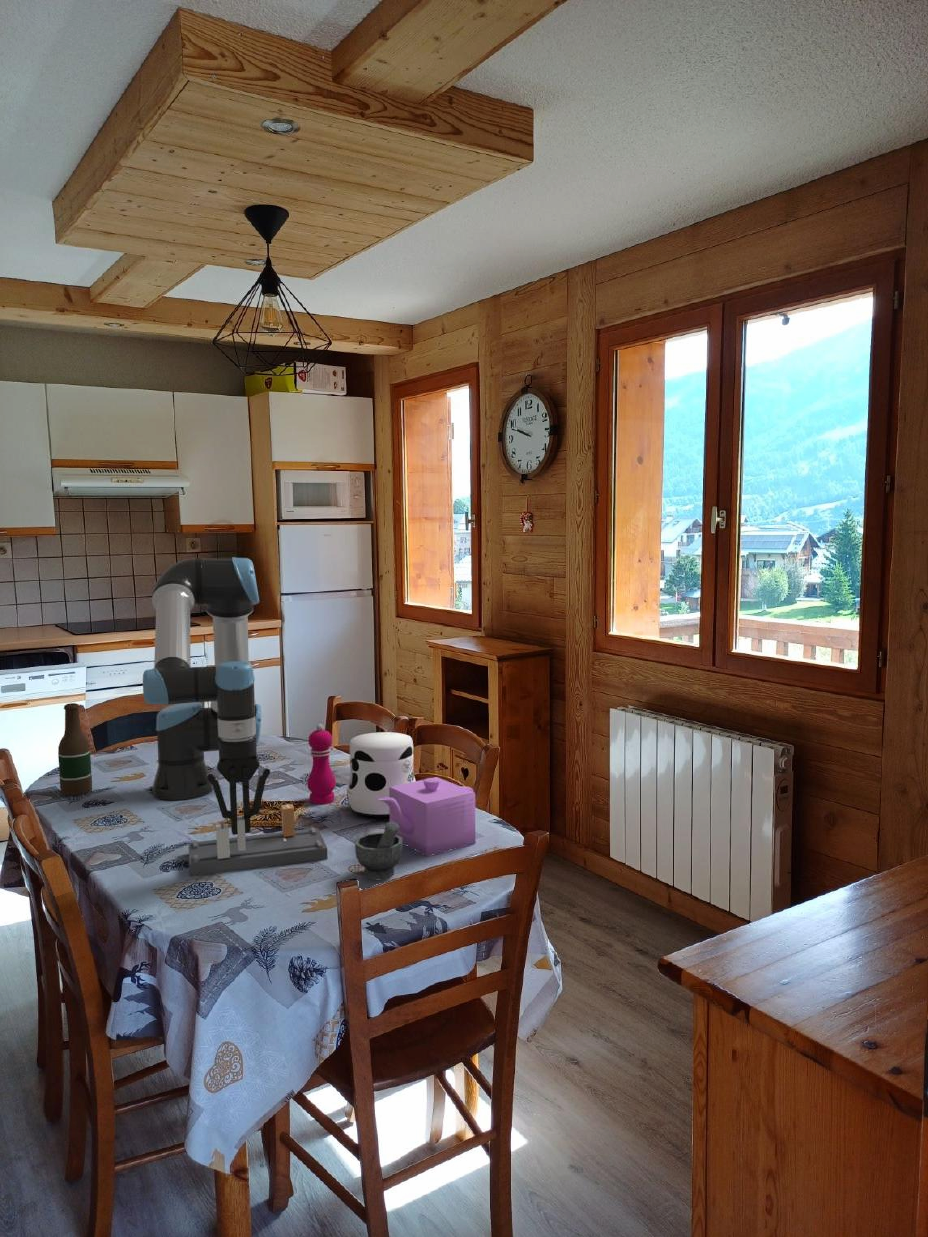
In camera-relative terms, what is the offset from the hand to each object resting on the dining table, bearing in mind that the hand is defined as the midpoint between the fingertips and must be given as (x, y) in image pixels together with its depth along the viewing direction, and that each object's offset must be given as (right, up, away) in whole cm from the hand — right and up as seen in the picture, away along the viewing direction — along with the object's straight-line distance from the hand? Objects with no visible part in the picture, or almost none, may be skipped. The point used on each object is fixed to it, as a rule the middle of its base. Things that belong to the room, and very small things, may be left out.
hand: (241, 848), depth 185 cm
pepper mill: (+10, +1, +43) cm, 44 cm away
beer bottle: (-57, +1, +52) cm, 77 cm away
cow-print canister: (+26, 0, +35) cm, 44 cm away
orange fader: (+8, 0, +11) cm, 14 cm away
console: (+2, -3, +6) cm, 7 cm away
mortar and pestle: (+30, -4, -5) cm, 30 cm away
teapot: (+38, -2, +14) cm, 41 cm away
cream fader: (-3, -1, -1) cm, 4 cm away
